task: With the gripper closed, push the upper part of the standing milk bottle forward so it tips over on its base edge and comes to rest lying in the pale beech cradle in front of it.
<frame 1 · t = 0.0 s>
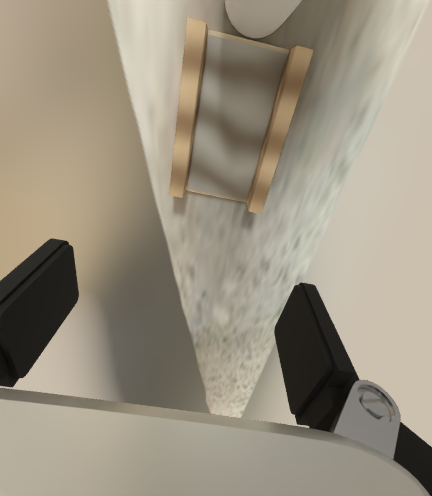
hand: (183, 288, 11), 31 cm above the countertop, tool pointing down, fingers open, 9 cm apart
cradle: (230, 129, 36), on the countertop
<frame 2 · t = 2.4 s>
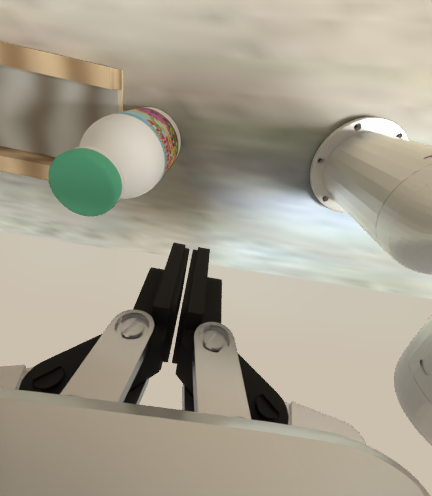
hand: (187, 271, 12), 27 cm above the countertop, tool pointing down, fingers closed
milk bottle: (153, 139, 34), on the countertop
cradle: (46, 116, 33), on the countertop
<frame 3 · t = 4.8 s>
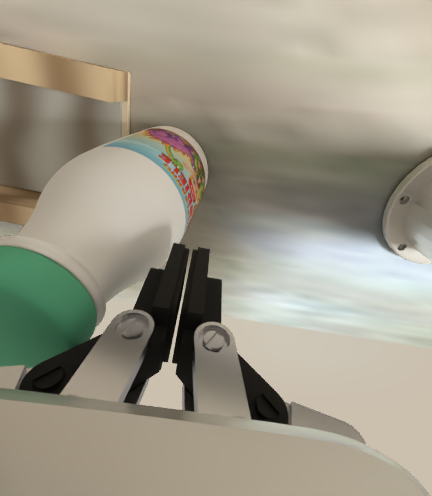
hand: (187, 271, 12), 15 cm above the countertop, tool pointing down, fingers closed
milk bottle: (170, 168, 25), on the countertop
cradle: (22, 136, 24), on the countertop
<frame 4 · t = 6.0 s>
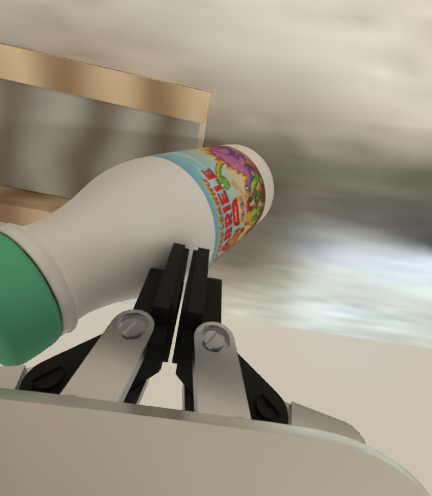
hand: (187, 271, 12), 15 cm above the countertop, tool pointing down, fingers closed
milk bottle: (236, 187, 24), point 2 cm above the countertop, touching cradle
cradle: (95, 152, 24), on the countertop
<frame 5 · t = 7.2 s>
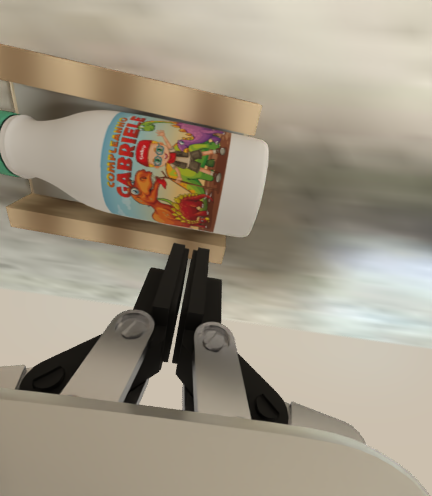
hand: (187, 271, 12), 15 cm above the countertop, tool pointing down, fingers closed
milk bottle: (258, 192, 20), point 5 cm above the countertop, touching cradle
cradle: (134, 162, 24), on the countertop
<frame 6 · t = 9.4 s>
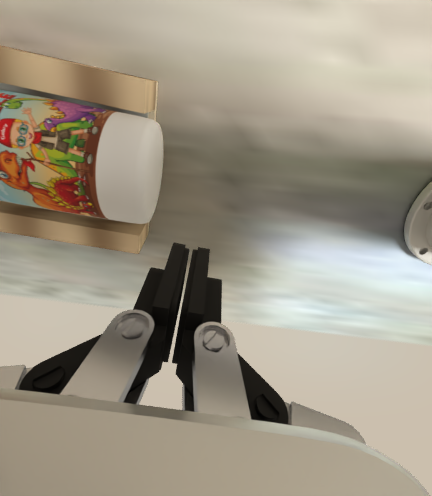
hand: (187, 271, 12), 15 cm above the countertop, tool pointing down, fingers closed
milk bottle: (158, 176, 19), point 5 cm above the countertop, touching cradle
cradle: (41, 147, 23), on the countertop
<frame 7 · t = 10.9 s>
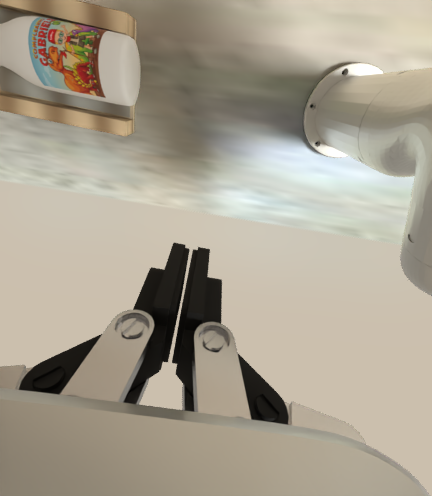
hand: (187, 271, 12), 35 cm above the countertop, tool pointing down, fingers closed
milk bottle: (135, 74, 33), point 5 cm above the countertop, touching cradle
cradle: (65, 66, 37), on the countertop
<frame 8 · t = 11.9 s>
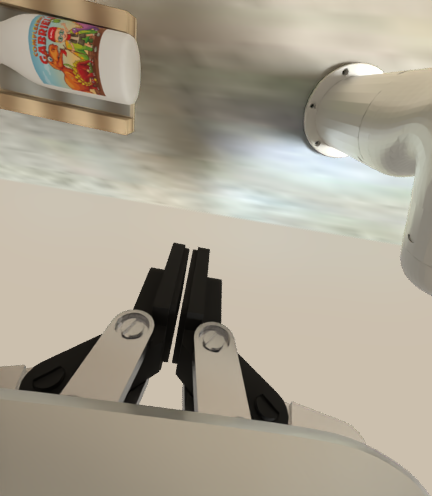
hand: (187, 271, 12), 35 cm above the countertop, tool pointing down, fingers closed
milk bottle: (135, 73, 33), point 5 cm above the countertop, touching cradle
cradle: (65, 64, 37), on the countertop
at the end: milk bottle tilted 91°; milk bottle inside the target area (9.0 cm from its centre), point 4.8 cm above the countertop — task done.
